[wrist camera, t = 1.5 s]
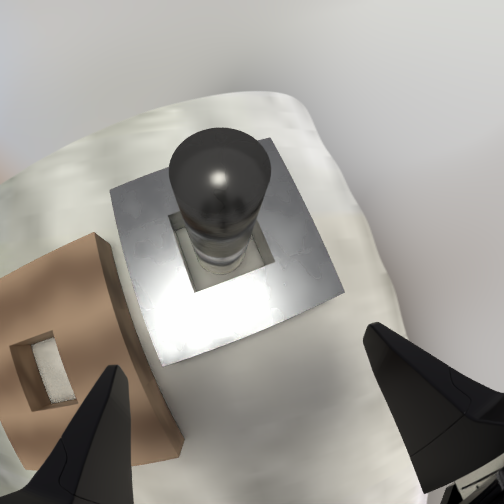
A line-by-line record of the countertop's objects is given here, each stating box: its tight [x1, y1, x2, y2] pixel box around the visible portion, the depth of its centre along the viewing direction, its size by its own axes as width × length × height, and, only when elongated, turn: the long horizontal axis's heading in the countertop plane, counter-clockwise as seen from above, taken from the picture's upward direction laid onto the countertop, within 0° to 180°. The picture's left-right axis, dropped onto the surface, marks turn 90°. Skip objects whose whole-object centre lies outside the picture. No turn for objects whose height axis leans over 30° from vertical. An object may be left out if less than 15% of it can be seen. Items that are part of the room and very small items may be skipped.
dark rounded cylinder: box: [169, 128, 271, 274], centre depth 16 cm, size 4×4×13 cm
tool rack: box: [0, 232, 185, 471], centre depth 17 cm, size 18×18×4 cm
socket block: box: [110, 138, 345, 367], centre depth 21 cm, size 14×14×4 cm
